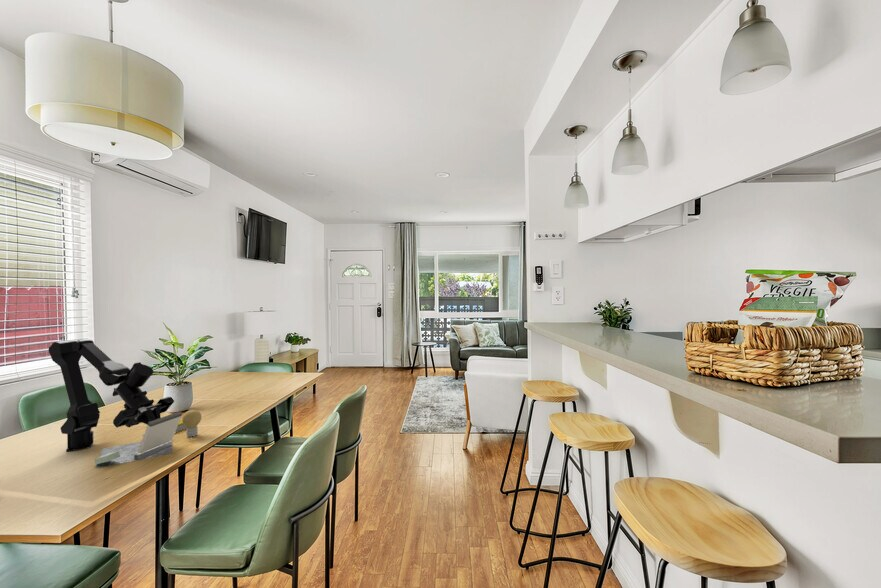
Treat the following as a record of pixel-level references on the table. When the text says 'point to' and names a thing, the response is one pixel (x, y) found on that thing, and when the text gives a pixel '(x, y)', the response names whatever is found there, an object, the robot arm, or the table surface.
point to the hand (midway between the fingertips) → (159, 429)
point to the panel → (133, 453)
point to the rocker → (107, 457)
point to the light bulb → (191, 422)
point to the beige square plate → (159, 431)
